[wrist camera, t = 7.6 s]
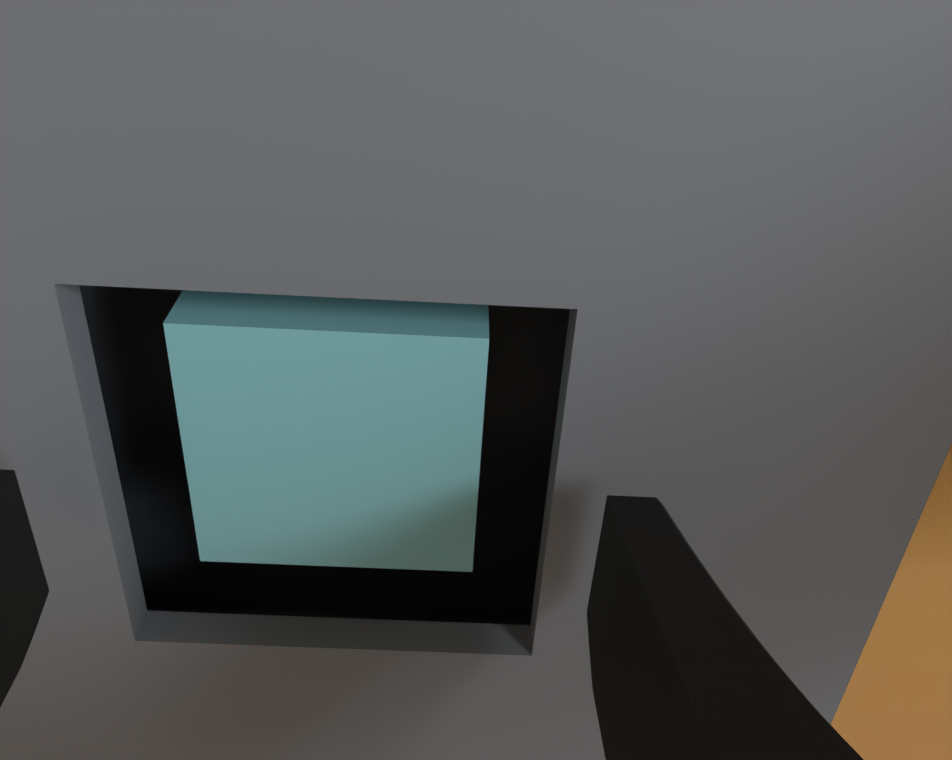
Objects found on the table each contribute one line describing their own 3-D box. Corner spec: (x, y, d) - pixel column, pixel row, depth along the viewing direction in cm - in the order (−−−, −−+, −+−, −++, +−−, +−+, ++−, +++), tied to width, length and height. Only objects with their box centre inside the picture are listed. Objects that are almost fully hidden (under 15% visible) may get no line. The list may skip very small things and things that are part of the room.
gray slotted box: (948, -266, 12) (1276, -313, 7) (699, 630, 22) (765, 876, 17) (-240, -347, 12) (-772, -457, 7) (44, 605, 22) (-88, 850, 17)
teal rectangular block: (485, 190, 15) (489, 337, 11) (473, 386, 17) (471, 571, 13) (250, 178, 15) (162, 323, 11) (267, 376, 17) (199, 561, 13)
